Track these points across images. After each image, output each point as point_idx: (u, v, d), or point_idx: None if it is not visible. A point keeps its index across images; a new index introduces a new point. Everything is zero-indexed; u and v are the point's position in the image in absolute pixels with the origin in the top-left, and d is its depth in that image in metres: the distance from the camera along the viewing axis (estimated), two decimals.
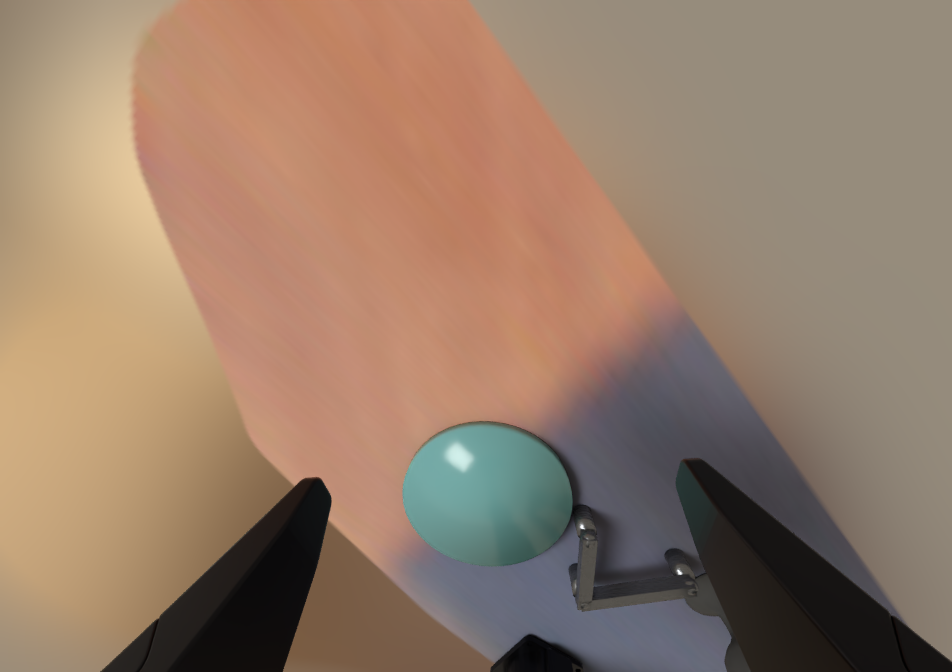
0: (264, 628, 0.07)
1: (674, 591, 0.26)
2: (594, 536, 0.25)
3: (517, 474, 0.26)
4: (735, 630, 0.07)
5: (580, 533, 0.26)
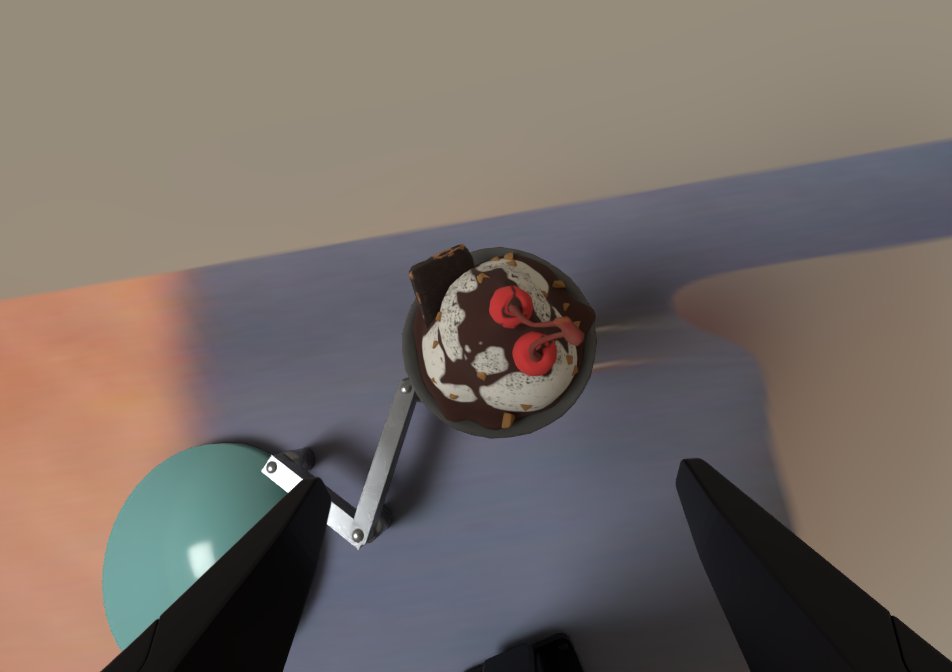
0: (264, 628, 0.07)
1: (394, 408, 0.19)
2: None
3: (195, 496, 0.22)
4: (735, 630, 0.07)
5: None
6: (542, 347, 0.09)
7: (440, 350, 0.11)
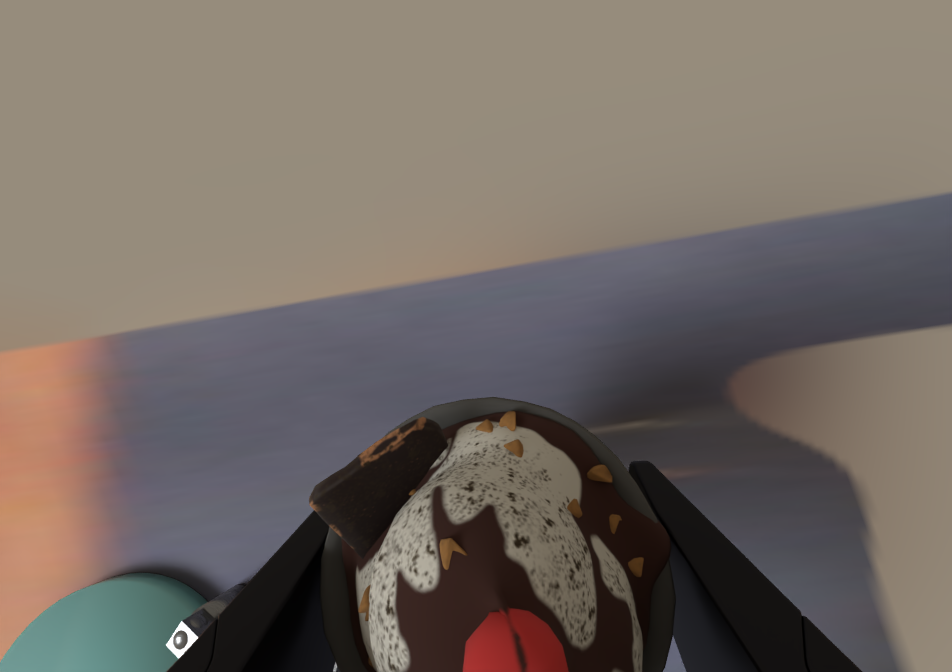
0: (317, 628, 0.07)
1: None
2: (185, 619, 0.14)
3: (91, 657, 0.16)
4: (673, 630, 0.07)
5: None
6: None
7: None
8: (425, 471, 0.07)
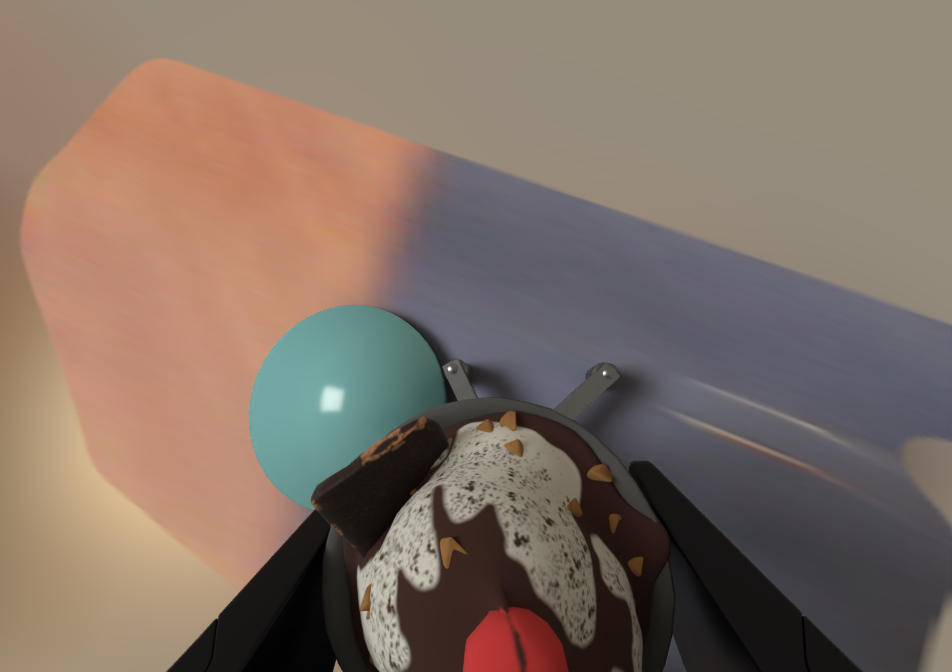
0: (317, 628, 0.07)
1: (589, 384, 0.19)
2: (455, 359, 0.21)
3: (361, 349, 0.23)
4: (673, 630, 0.07)
5: None
6: None
7: None
8: (426, 471, 0.07)
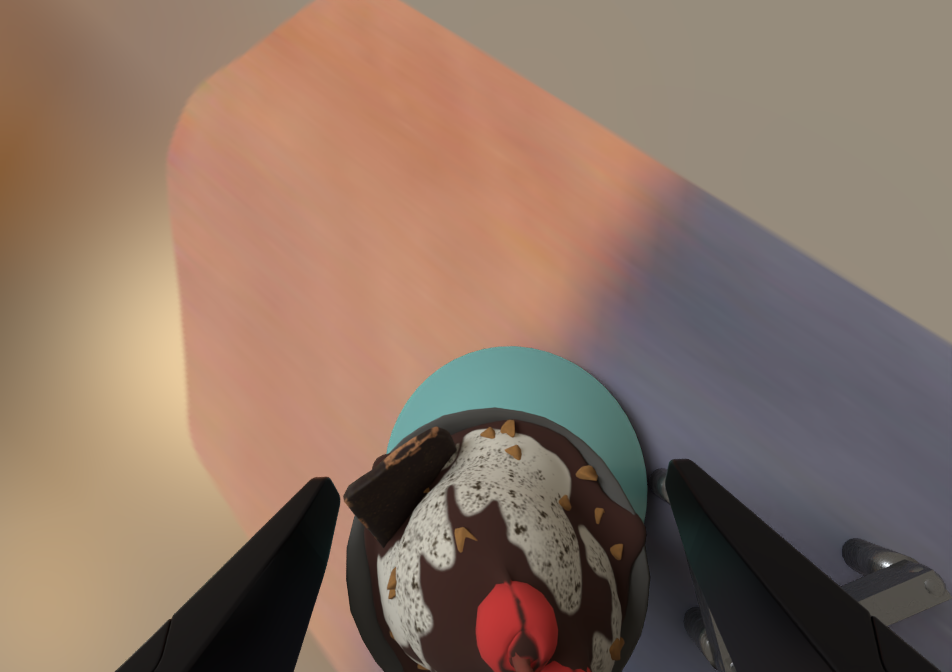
0: (275, 628, 0.07)
1: (898, 592, 0.13)
2: None
3: (546, 413, 0.18)
4: (721, 630, 0.07)
5: None
6: None
7: None
8: (437, 472, 0.08)
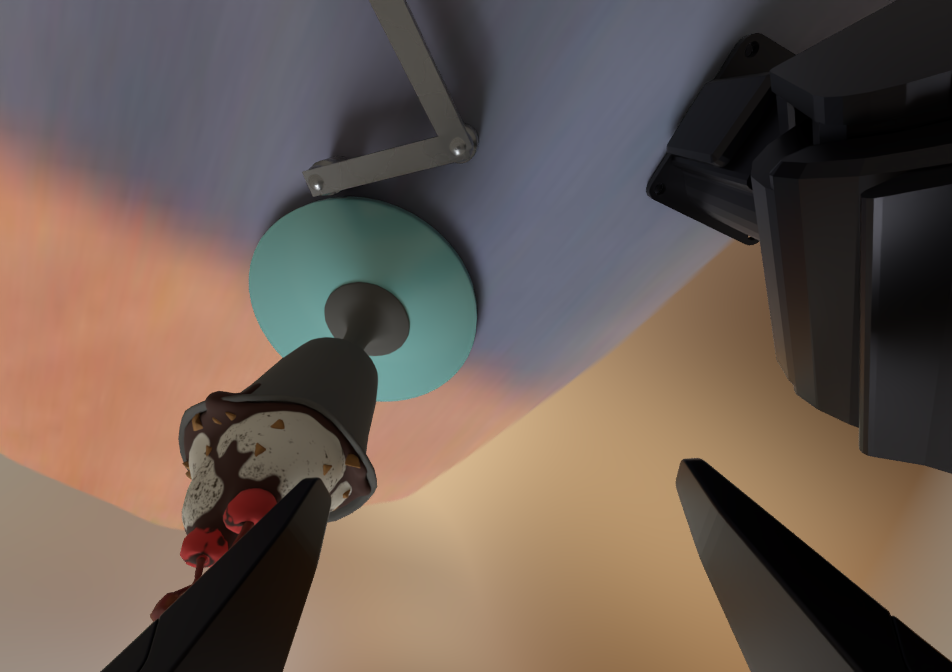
0: (264, 628, 0.07)
1: None
2: None
3: (304, 289, 0.20)
4: (735, 630, 0.07)
5: None
6: (234, 525, 0.09)
7: None
8: None
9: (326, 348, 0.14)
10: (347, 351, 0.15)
